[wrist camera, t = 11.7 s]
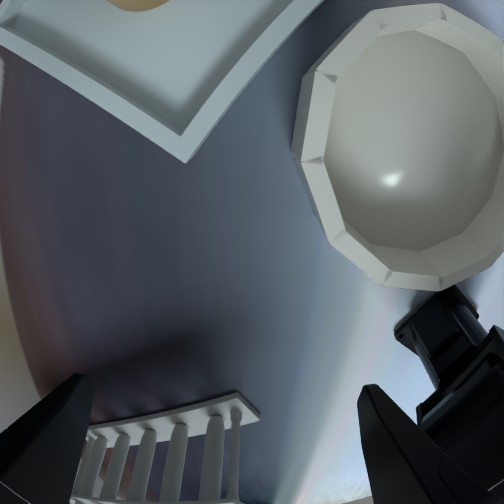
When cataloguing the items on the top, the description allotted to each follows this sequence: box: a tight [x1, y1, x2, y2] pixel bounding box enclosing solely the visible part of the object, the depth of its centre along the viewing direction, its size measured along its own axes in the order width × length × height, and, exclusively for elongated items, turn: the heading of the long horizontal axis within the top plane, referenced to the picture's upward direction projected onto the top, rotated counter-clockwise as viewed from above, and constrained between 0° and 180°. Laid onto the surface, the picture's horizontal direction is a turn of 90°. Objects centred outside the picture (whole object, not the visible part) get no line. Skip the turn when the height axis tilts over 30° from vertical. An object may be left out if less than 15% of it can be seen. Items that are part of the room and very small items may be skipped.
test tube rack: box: [70, 392, 260, 504], centre depth 24 cm, size 25×4×13 cm, turn 119°
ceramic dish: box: [291, 3, 504, 291], centre depth 15 cm, size 16×16×4 cm
